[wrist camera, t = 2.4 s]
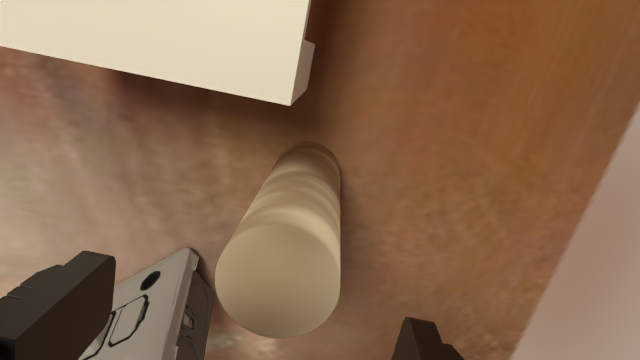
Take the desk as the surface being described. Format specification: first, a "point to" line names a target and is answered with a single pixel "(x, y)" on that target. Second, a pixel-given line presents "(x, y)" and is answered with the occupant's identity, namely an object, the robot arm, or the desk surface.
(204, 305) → the electrical switch
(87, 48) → the guard housing
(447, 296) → the desk surface
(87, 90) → the desk surface
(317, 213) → the round beige peg
